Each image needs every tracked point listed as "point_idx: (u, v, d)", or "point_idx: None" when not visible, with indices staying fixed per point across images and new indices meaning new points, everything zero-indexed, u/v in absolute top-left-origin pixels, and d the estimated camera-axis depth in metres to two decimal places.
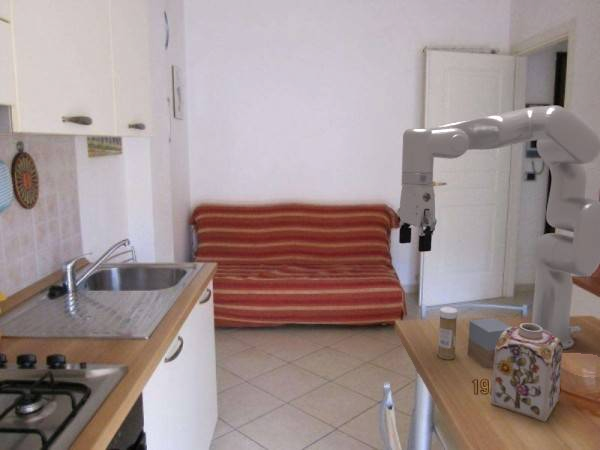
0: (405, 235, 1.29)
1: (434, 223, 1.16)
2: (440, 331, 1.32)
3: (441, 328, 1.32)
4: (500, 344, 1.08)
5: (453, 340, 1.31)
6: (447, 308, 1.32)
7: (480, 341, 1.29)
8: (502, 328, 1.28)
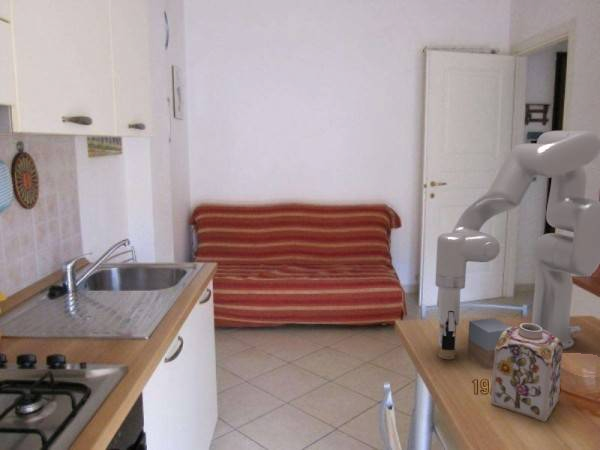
0: None
1: None
2: (440, 331, 1.32)
3: (441, 328, 1.32)
4: (500, 344, 1.08)
5: None
6: None
7: (480, 341, 1.29)
8: (501, 328, 1.28)
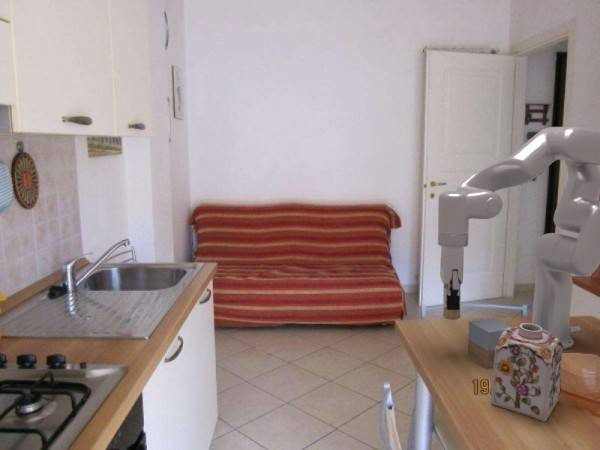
0: None
1: None
2: (444, 292, 1.31)
3: (445, 288, 1.30)
4: (500, 344, 1.08)
5: None
6: None
7: (480, 341, 1.29)
8: (502, 328, 1.28)
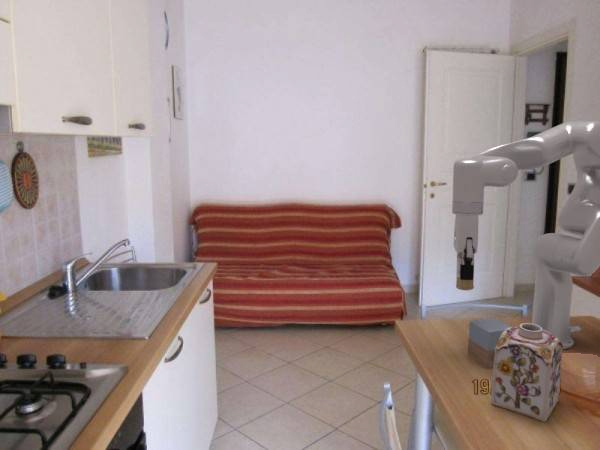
0: None
1: None
2: (457, 262, 1.29)
3: (459, 258, 1.28)
4: (500, 344, 1.08)
5: None
6: None
7: (480, 341, 1.29)
8: (502, 328, 1.28)
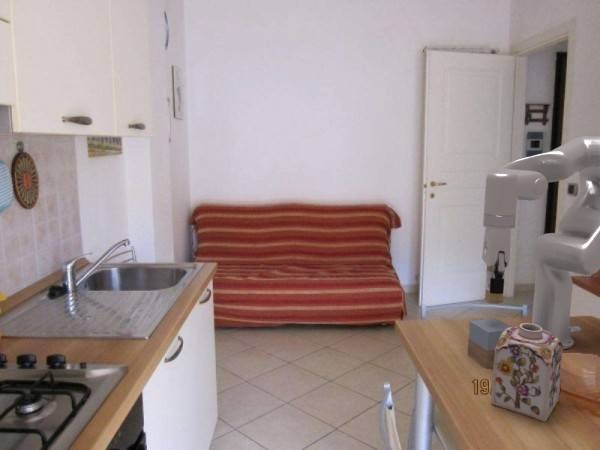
0: None
1: None
2: (487, 275, 1.28)
3: (489, 271, 1.27)
4: (500, 344, 1.08)
5: None
6: None
7: (480, 341, 1.29)
8: (502, 328, 1.28)
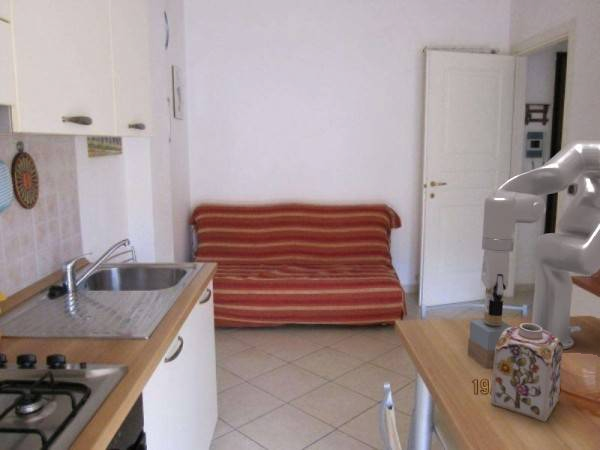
0: None
1: None
2: (486, 297, 1.29)
3: (488, 293, 1.28)
4: (500, 344, 1.08)
5: None
6: None
7: (480, 341, 1.29)
8: (502, 328, 1.28)
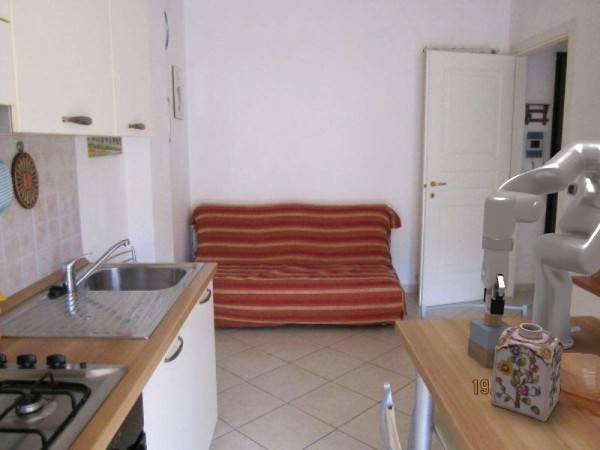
0: None
1: None
2: (486, 298, 1.29)
3: (488, 294, 1.28)
4: (500, 344, 1.08)
5: None
6: None
7: (480, 340, 1.29)
8: (502, 328, 1.28)
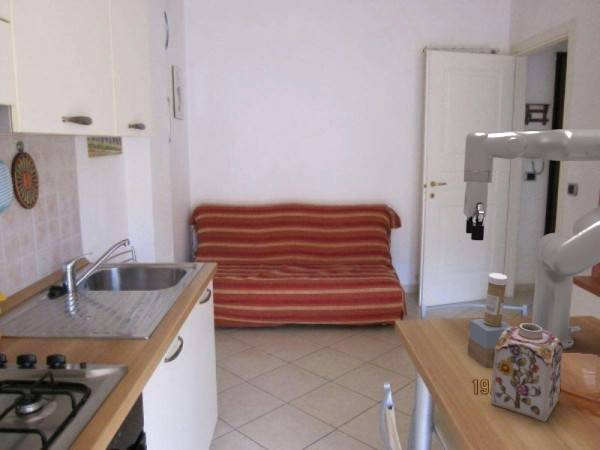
0: None
1: None
2: (486, 297, 1.29)
3: (488, 294, 1.28)
4: (500, 344, 1.08)
5: (500, 307, 1.27)
6: (497, 274, 1.28)
7: (479, 340, 1.30)
8: (501, 327, 1.28)
